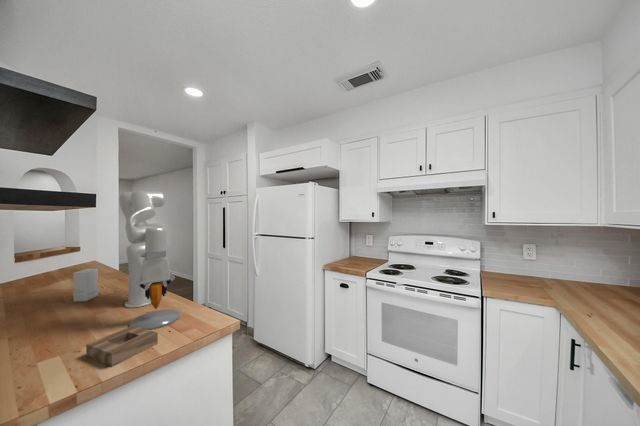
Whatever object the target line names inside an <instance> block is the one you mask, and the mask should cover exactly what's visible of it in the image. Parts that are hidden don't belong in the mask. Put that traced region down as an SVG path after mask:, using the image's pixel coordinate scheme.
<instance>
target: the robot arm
mask: <svg viewBox="0 0 640 426" xmlns="http://www.w3.org/2000/svg"><path fill="white" fill-rule="evenodd" d="M118 203H119V208H120V210H121V212H122V213H123V215H124V217H125V220H126V222H125V228H124V229H125V234H126V238H127V240H128V242H129V243H131V244H129V245H128V246H127V247H126V249H125V251H126V257H127V262H128V295H126V298H128V301H126V302H125V303H124V306H125V308H132V309H134V308H140V307H145V306H148V305H152V303H151V300H150V295H149V286H150V284H152V283H155V282H161V283H162V284H163V287H162V297H165V296H166V294H167V288H168V286H169V284H170V283H171V282H173V281H174V280H175V279H176V277H175V275H174V274H173V272H171V269H170V266H171V265H170V261H169V257H167V255H168V243H167V230H166V227H164V226H163V225H162V224H160V223H148V222H147V221H149V220H152V218H154V217H155V215H156V209H157V208H162V207H163V206H164V205H165V203H166V197H165V194H164V193H163V192H162V191H159V190H148V189H147V190H146V189H145V190H144V189H138V190H135V191H125V192H122V193H120V195H119V198H118Z"/></svg>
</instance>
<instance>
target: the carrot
mask: <svg viewBox="0 0 640 426" xmlns="http://www.w3.org/2000/svg"><path fill="white" fill-rule="evenodd" d="M162 287H163V282H162V281H161V282H155V283H152V284H150V286H149V295H150V300H151V305H152V307H153V308H154V309H155V310H157V309H158V308H159V306H160V304H161V301H162V297H163V295H162Z"/></svg>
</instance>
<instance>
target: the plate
mask: <svg viewBox="0 0 640 426" xmlns="http://www.w3.org/2000/svg"><path fill="white" fill-rule="evenodd" d="M180 314H181V313H180V311H178V310H176V309H159V310H154V311H150V312H147V313H144V314H141V315H138V316H137V317H134V318H133V319H132V320H131V321H130V322H129V327H131V326H137V327H140V328H144V329H147V330H151V331H153V330H156V329H160V328H164V327H167V326H169V325H171V324H173V323H175V322H176V321H177V320H179V318H180V317H181V316H180Z"/></svg>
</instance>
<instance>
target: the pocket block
mask: <svg viewBox="0 0 640 426" xmlns="http://www.w3.org/2000/svg"><path fill="white" fill-rule="evenodd" d="M158 332H159V331H158ZM158 332H157V331H155V330H154V331H153V330H147V329H144V328H140V327H137V326H131V327H130V326H128V327H126V328H124V329H121V330H118V331H116V332H113V333H111V334H109V335H105V336H104V337H101V338H99V339H97V340H93V341H91V342H89V343H88V342H87V343H86V347H85V348H86V350H85V353H86V354H85V356H86V357H87V358H89V359H92V360H94V361H96V362H99V363H102V364H104V365H106V366H110V367H111V368H112V367H115V366H116V365H118V364H120V363H122V362H124V361H126V360H128V359H131V358H132V357H134V356H136V355H138V354H140V353H142V352H143V351H146V350H148V349H149V348H152V347H153V346H156V345H158V341H159V339H158V336H159V334H158Z"/></svg>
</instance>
